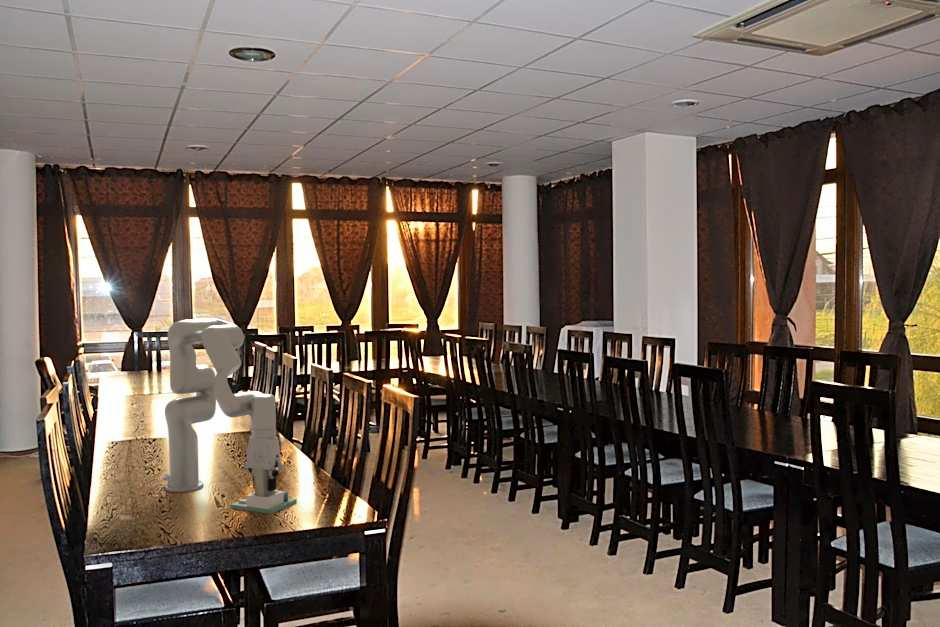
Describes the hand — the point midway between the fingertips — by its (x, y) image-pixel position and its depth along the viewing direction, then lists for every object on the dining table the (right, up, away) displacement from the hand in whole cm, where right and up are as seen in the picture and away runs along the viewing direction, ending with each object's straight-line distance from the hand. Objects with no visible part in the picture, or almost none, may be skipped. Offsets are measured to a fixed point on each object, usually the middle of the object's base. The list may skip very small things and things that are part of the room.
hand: (264, 488), depth 259 cm
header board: (-1, -6, +3) cm, 7 cm away
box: (0, -3, 0) cm, 3 cm away
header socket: (0, -5, 0) cm, 5 cm away
